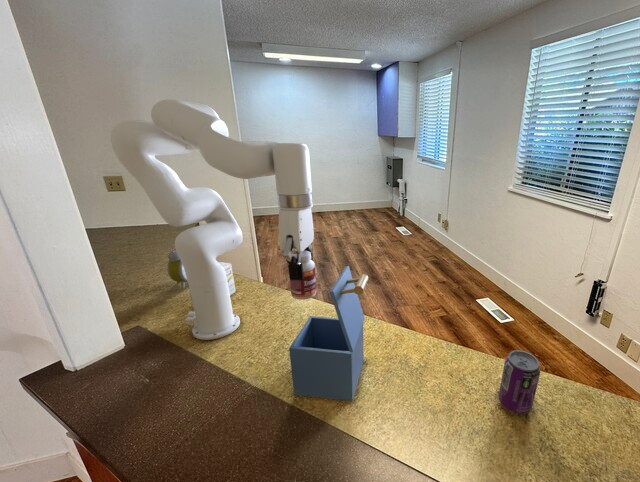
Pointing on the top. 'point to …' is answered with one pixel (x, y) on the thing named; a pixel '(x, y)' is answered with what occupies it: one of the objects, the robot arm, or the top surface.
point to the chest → (325, 360)
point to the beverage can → (519, 381)
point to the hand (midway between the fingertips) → (302, 272)
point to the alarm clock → (176, 269)
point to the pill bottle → (308, 284)
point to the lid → (349, 305)
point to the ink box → (229, 276)
